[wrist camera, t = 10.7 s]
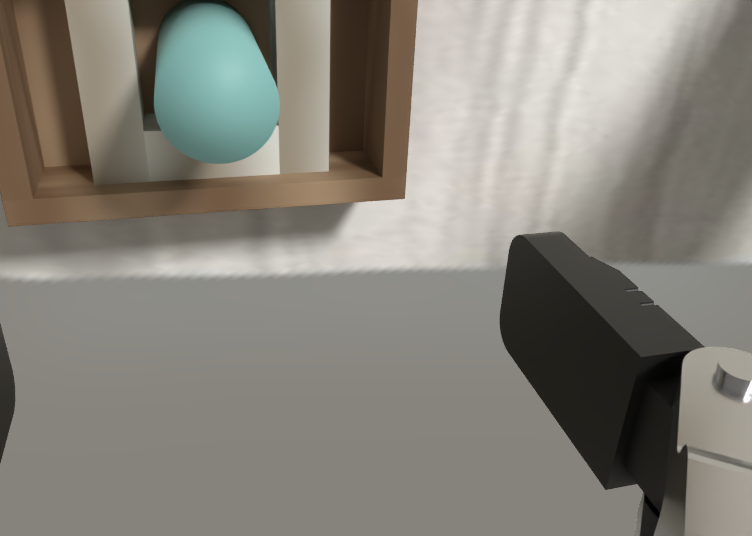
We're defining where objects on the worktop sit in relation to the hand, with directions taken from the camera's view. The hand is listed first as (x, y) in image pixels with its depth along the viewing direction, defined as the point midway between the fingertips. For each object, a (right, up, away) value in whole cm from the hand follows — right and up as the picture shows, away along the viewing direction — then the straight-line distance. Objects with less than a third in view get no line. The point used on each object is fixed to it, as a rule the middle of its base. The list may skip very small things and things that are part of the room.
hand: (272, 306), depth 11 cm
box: (-5, +9, +17) cm, 20 cm away
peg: (-5, +9, +16) cm, 19 cm away
